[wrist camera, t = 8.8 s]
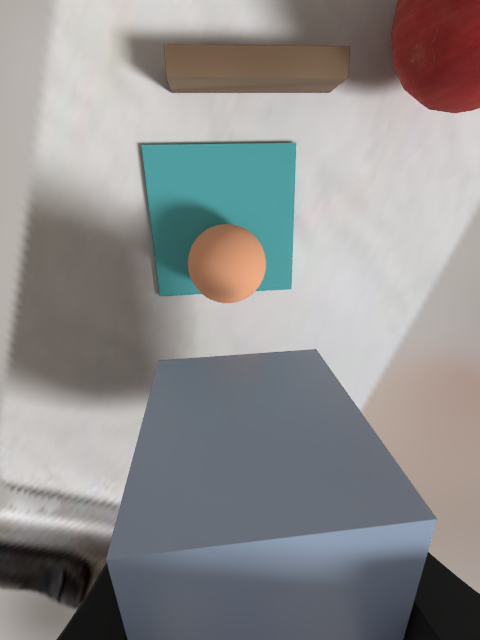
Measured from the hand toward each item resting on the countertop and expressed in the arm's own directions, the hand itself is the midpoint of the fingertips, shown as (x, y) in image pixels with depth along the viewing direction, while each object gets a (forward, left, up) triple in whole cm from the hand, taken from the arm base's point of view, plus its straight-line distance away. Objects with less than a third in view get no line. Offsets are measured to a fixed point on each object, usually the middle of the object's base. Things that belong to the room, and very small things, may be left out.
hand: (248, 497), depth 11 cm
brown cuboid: (+15, -2, -9) cm, 17 cm away
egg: (+7, 0, -7) cm, 10 cm away
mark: (+9, 0, -9) cm, 12 cm away
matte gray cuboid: (0, 0, -2) cm, 2 cm away
